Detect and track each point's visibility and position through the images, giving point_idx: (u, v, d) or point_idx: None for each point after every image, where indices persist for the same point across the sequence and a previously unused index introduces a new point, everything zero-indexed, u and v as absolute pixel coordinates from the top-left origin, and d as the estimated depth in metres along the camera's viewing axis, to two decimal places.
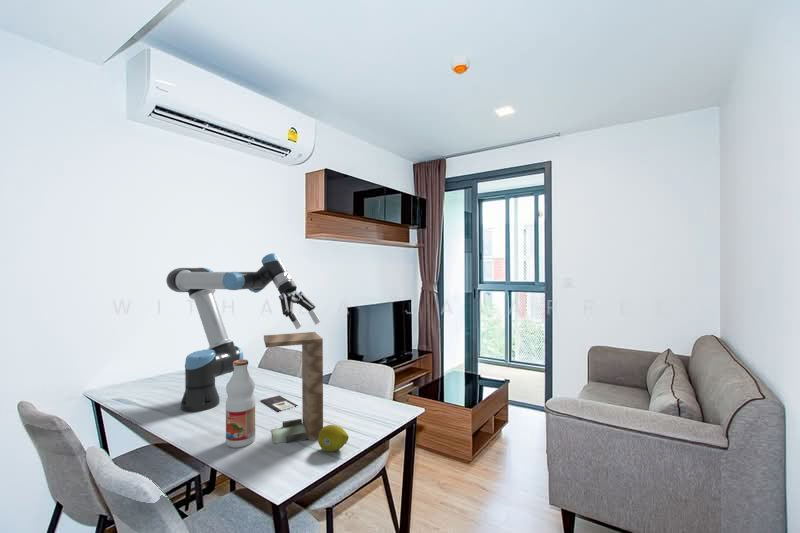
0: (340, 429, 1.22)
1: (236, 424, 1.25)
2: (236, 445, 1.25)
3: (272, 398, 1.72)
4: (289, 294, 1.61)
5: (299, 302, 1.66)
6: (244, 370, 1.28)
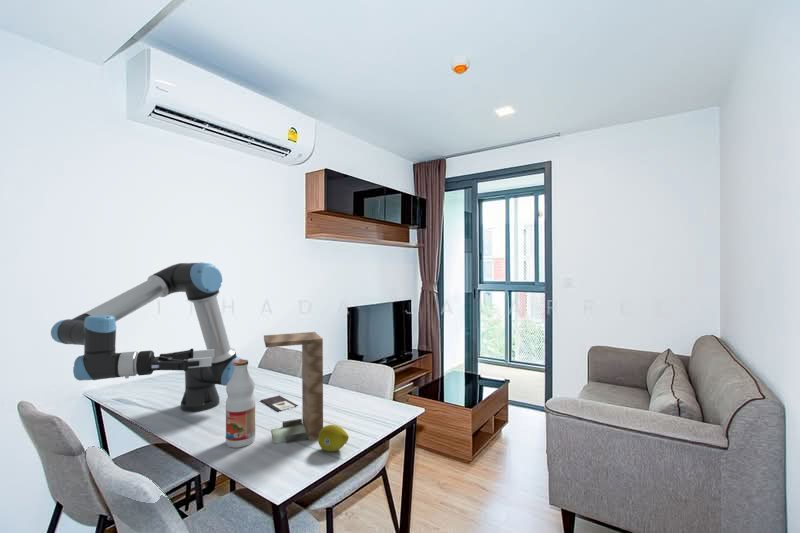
0: (340, 429, 1.22)
1: (236, 424, 1.25)
2: (236, 445, 1.25)
3: (272, 398, 1.72)
4: None
5: None
6: (244, 370, 1.28)
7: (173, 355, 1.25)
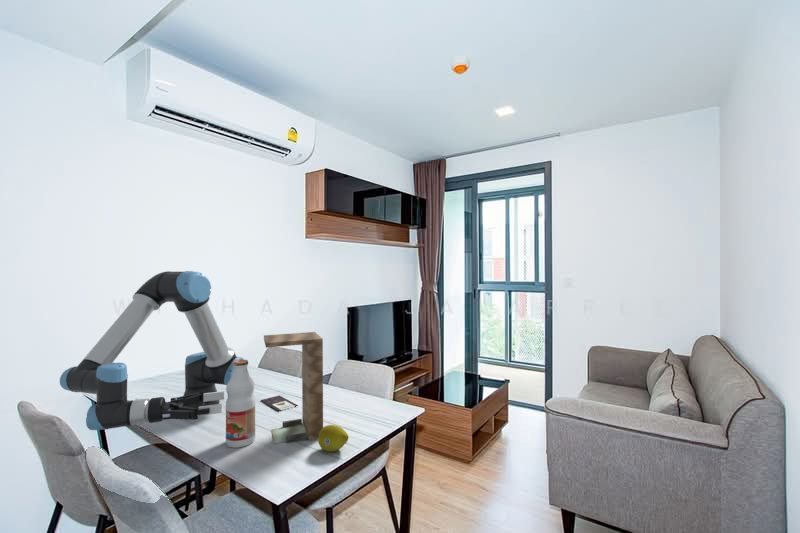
0: (340, 429, 1.22)
1: (236, 424, 1.25)
2: (236, 445, 1.25)
3: (272, 398, 1.72)
4: None
5: None
6: (244, 370, 1.28)
7: (184, 400, 1.25)
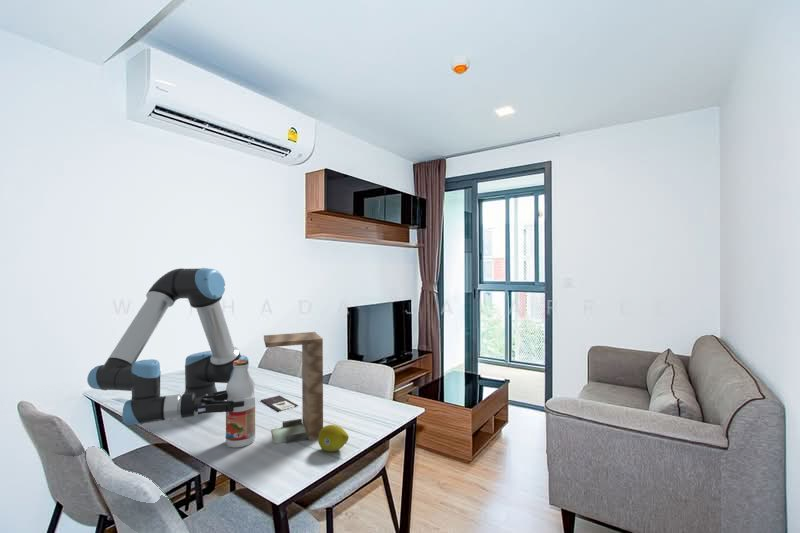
0: (340, 429, 1.22)
1: (236, 423, 1.25)
2: (236, 444, 1.25)
3: (272, 398, 1.72)
4: None
5: None
6: (244, 370, 1.28)
7: None
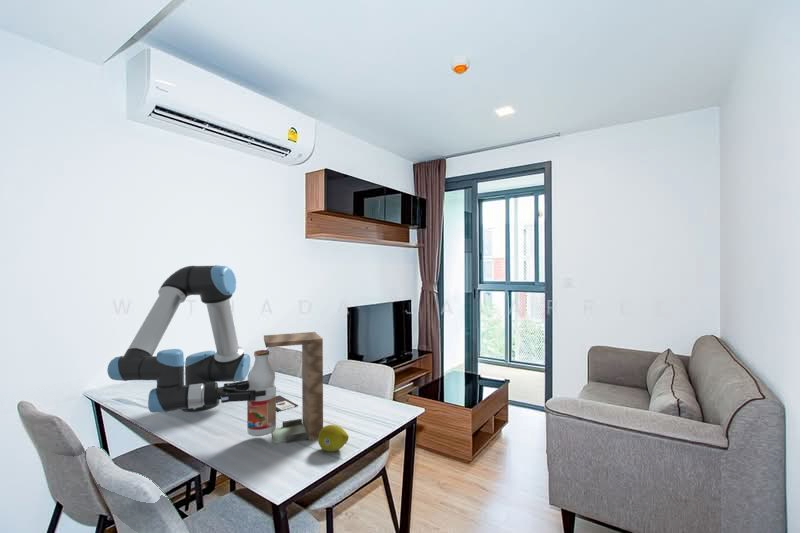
0: (340, 429, 1.22)
1: (257, 413, 1.27)
2: (258, 433, 1.26)
3: None
4: None
5: None
6: (265, 360, 1.30)
7: None
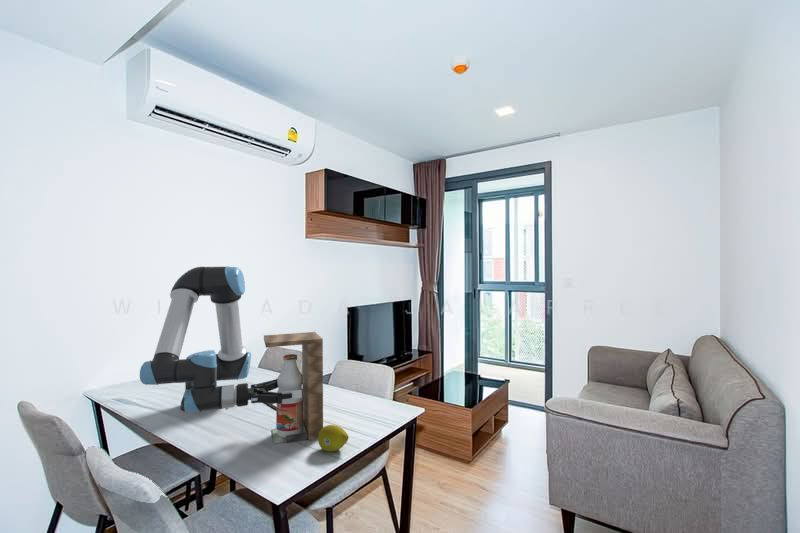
0: (340, 429, 1.22)
1: (287, 415, 1.31)
2: (287, 435, 1.31)
3: None
4: None
5: None
6: (294, 364, 1.35)
7: (264, 386, 1.35)
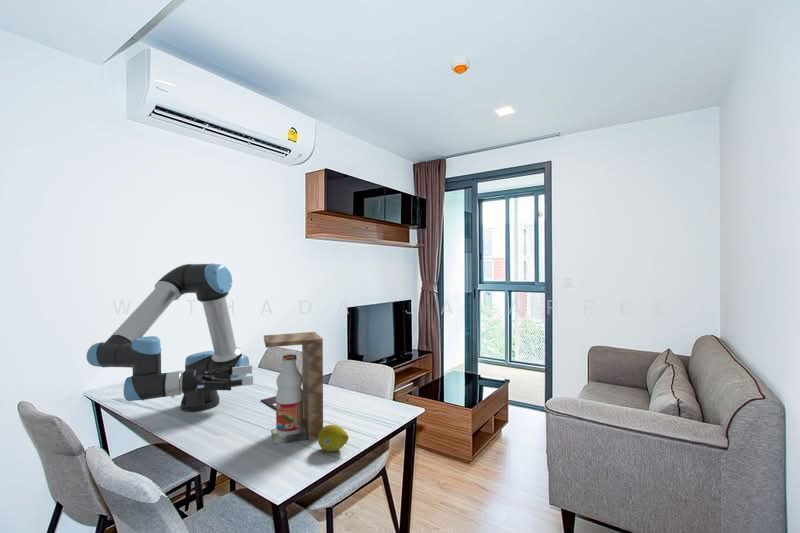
0: (340, 429, 1.22)
1: (287, 415, 1.31)
2: (287, 435, 1.31)
3: (272, 398, 1.72)
4: None
5: None
6: (293, 364, 1.35)
7: (214, 373, 1.28)
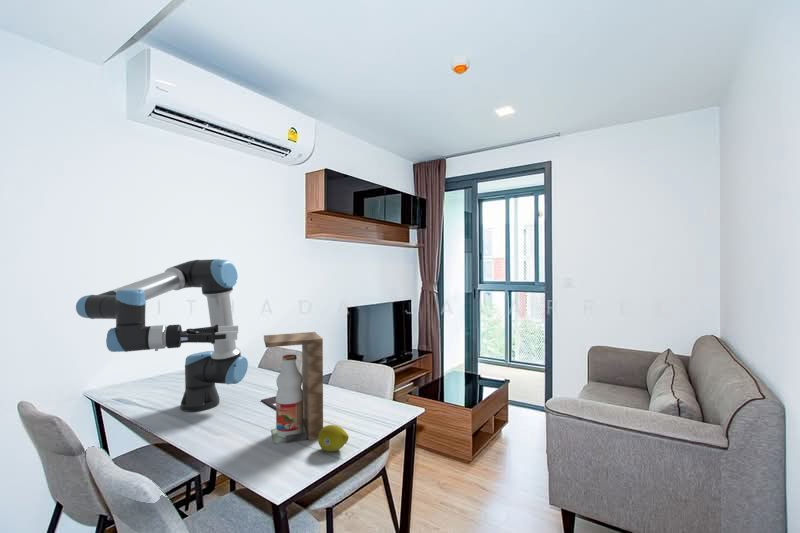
0: (340, 429, 1.22)
1: (287, 415, 1.31)
2: (287, 435, 1.31)
3: (272, 398, 1.72)
4: None
5: None
6: (293, 364, 1.35)
7: (199, 330, 1.28)
